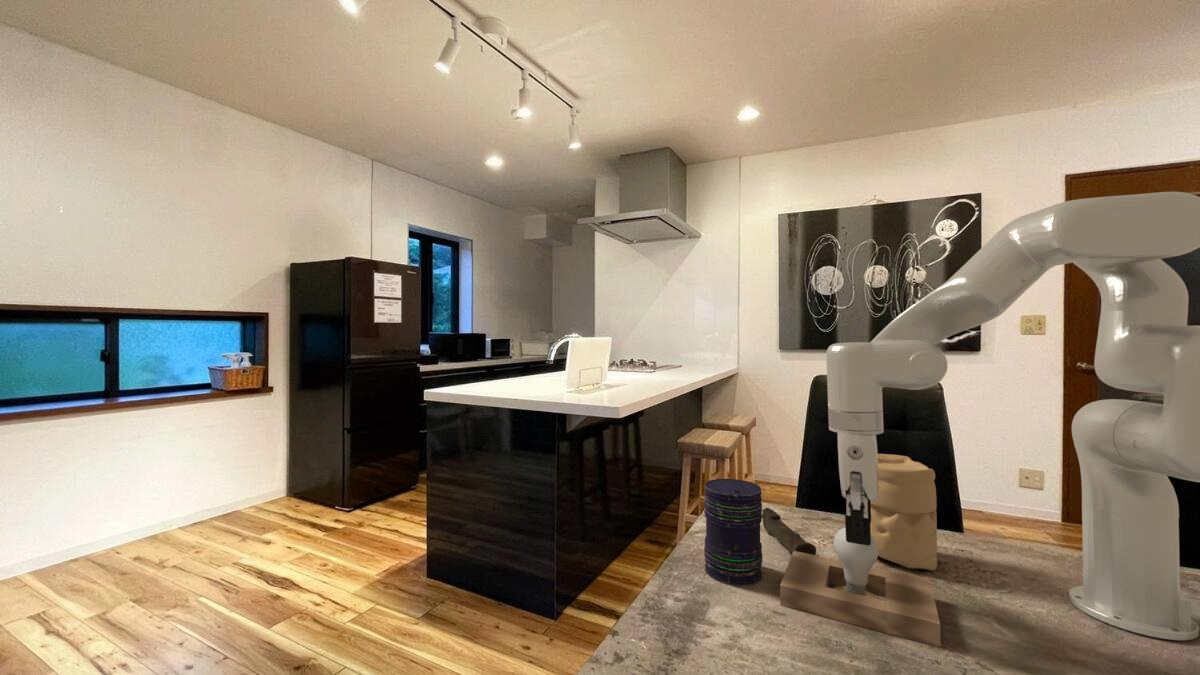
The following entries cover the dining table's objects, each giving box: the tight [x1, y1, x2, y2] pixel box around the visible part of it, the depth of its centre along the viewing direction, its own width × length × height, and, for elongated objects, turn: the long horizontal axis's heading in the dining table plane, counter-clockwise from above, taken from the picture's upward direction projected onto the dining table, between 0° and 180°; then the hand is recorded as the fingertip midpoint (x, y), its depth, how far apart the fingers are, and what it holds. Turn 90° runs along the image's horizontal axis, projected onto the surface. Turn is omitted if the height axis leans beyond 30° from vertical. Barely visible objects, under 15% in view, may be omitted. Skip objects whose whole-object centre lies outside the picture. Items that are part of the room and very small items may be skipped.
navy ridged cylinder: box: [703, 478, 763, 587], centre depth 83 cm, size 10×10×15 cm
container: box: [870, 453, 938, 572], centre depth 88 cm, size 13×13×18 cm
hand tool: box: [761, 507, 817, 556], centre depth 95 cm, size 19×4×5 cm, turn 1°
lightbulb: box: [833, 526, 879, 596], centre depth 73 cm, size 6×6×11 cm
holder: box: [779, 551, 942, 648], centre depth 73 cm, size 20×14×3 cm
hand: (859, 531), depth 73 cm, fingers open, 9 cm apart
